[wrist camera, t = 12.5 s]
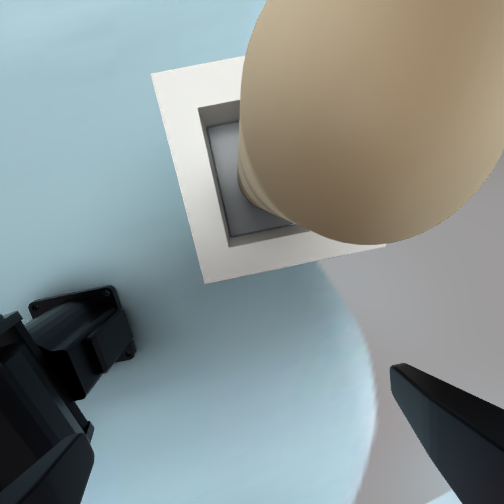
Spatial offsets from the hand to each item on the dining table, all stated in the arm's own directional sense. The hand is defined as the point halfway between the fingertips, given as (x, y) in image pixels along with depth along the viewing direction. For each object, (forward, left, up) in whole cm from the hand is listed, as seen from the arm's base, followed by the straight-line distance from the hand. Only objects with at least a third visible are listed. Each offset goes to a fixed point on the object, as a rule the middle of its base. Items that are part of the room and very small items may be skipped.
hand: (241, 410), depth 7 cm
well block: (+4, +7, -13) cm, 15 cm away
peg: (+4, +7, -13) cm, 15 cm away
